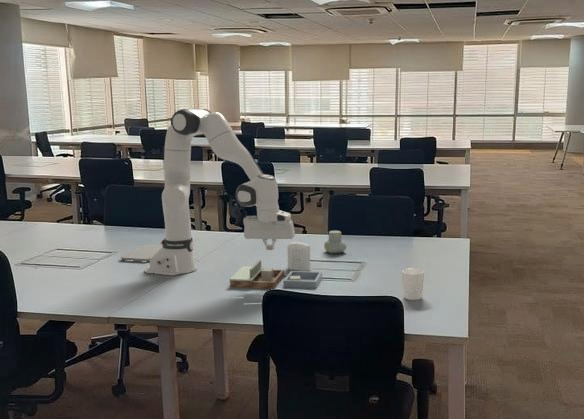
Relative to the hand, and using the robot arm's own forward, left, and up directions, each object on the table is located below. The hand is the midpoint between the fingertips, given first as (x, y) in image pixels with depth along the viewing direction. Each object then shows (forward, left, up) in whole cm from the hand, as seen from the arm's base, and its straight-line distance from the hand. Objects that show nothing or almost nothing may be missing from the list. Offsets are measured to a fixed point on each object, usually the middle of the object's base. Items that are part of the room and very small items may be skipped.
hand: (270, 249), depth 256 cm
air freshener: (+19, +53, -14) cm, 58 cm away
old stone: (+11, -3, -13) cm, 17 cm away
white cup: (+57, -11, -14) cm, 59 cm away
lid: (-10, 0, -11) cm, 14 cm away
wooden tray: (-5, 0, -14) cm, 15 cm away
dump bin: (+13, +1, -14) cm, 19 cm away
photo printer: (+8, +20, -14) cm, 25 cm away
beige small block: (-1, 0, -13) cm, 13 cm away
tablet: (-70, +37, -15) cm, 81 cm away
